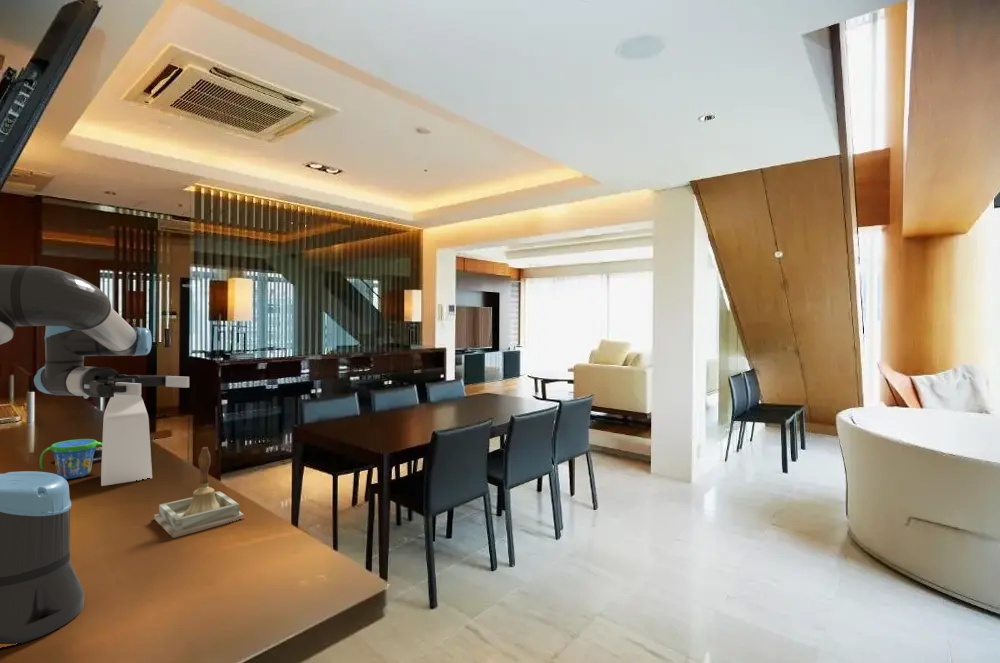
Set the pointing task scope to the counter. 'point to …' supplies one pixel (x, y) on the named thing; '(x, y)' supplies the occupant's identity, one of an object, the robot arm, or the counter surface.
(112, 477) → the milk
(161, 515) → the rectangular tray
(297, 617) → the counter surface
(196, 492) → the hand bell
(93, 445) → the snack cup
